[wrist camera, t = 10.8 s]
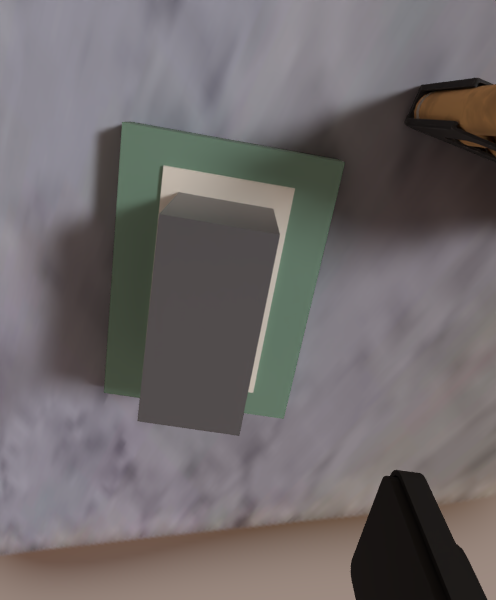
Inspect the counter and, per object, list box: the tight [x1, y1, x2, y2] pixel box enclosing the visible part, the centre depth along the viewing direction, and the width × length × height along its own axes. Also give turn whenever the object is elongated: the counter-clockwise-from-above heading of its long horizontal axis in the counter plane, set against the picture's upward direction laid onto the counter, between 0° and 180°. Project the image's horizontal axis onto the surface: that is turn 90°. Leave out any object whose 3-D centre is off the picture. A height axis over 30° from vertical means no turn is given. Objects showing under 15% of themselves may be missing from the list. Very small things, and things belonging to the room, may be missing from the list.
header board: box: [104, 122, 345, 419], centre depth 22 cm, size 14×10×5 cm
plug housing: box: [138, 192, 280, 436], centre depth 21 cm, size 9×4×5 cm, turn 170°
